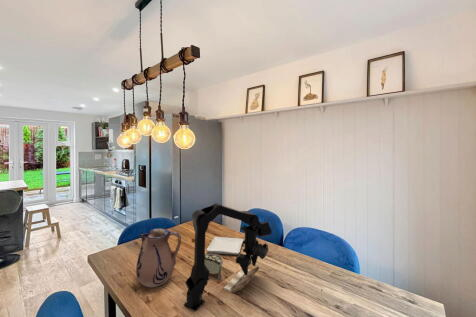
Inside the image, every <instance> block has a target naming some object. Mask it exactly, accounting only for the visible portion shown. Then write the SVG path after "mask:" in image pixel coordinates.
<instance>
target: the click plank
mask: <svg viewBox="0 0 476 317" xmlns="http://www.w3.org/2000/svg"><path fill="white" fill-rule="evenodd" d="M259 270H260V267H259V266H255V267H254V268H252V269H251V270H248V273H247V275H245V276H244V278H243V279H242V280H241V281H240V282H239V283H238V284H237V285H236V287H235V288H234V289H233V290H232V292H231V293H232V294H235V293H237V292H238V291H240V290H241V289H244V288H245V286H247V284H248V283H249V282H250V281H251V279H253V277H254V276H255V275H256V273H257V272H258V271H259Z"/></svg>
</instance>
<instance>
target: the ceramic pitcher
mask: <svg viewBox="0 0 476 317" xmlns="http://www.w3.org/2000/svg"><path fill="white" fill-rule="evenodd" d="M171 236H176V237H177V240H178V241H177V245H176V247H175V250H174V251H172V249H171V246H170V244H169V238H170V237H171ZM140 237H141V244H140V249H139V254H138V258H137V261H136V267H135V268H136V271H135V273H136V274H135V275H136V277H137V280H138V281H139V283H140V284H142V285H143V286H144V287H148V288H156V287H158V286H162V285H164V284H165V283H166V282H167V281H168V280H169V279H170V278H171V276H172V275H173V273H174V269H175V266H176V263H177V261H176V260H177V259H176V257H177V255H178V253H179V251H180V247H181V245H182V235H181V234H180V233H179V232H178V231H170V230H169V229H167V228H163V227H162V228H153V229H150V230H149V232H143V233H141V234H140Z"/></svg>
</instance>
